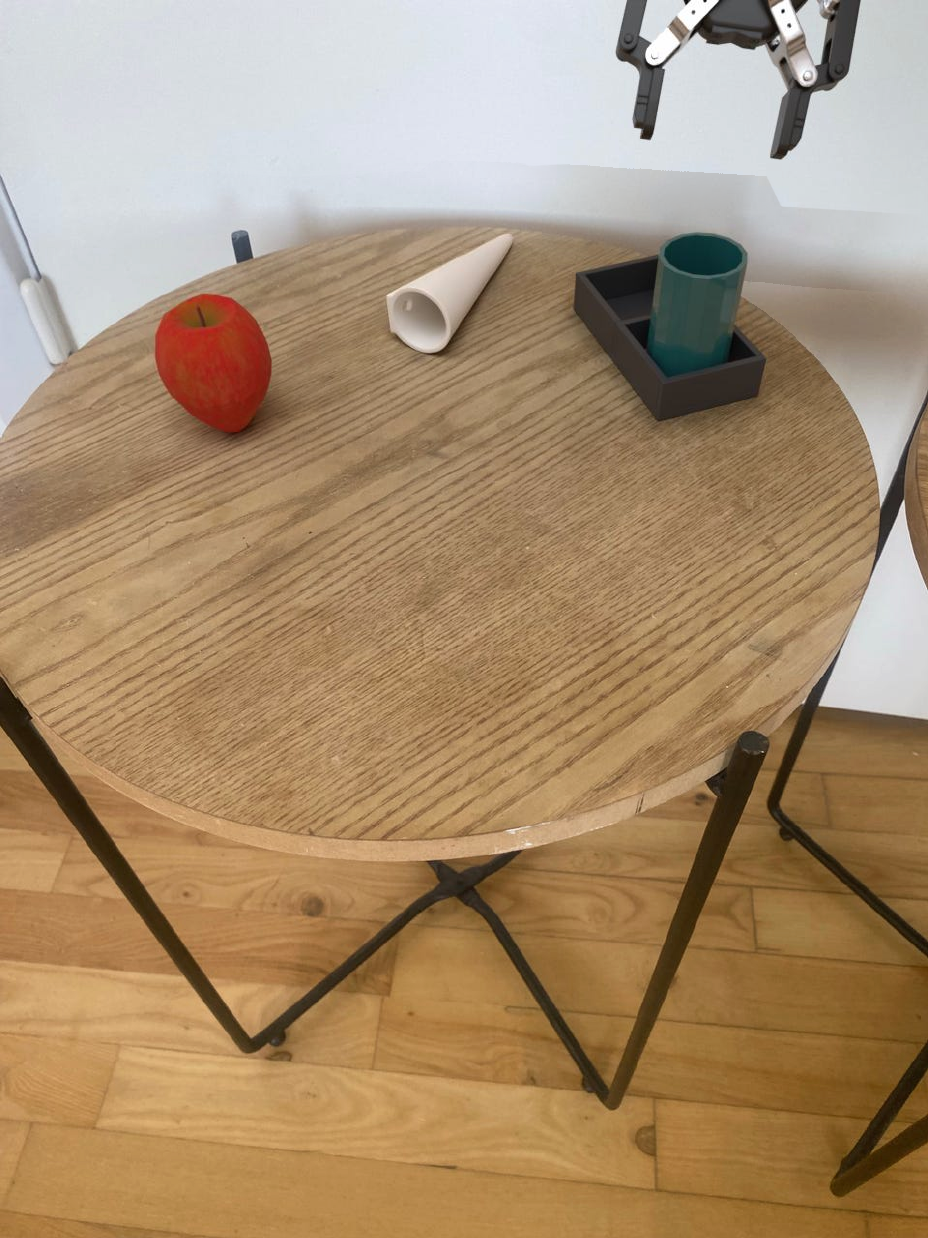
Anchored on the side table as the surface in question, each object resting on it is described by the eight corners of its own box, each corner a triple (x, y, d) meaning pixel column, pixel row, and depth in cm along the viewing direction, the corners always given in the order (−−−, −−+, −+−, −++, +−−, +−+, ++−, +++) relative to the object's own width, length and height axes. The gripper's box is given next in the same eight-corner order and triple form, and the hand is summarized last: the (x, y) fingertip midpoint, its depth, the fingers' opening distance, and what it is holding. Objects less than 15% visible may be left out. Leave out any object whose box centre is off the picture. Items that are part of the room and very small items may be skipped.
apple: (188, 393, 79) (151, 274, 71) (290, 389, 79) (264, 269, 71) (171, 461, 74) (128, 341, 66) (280, 457, 74) (250, 335, 66)
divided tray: (757, 396, 76) (767, 357, 74) (658, 421, 75) (663, 383, 72) (662, 288, 87) (667, 251, 84) (573, 309, 85) (575, 272, 83)
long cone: (561, 274, 92) (452, 359, 81) (504, 264, 95) (391, 345, 83) (561, 213, 88) (447, 293, 77) (502, 205, 91) (383, 281, 80)
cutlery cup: (725, 349, 79) (748, 235, 72) (723, 396, 75) (747, 280, 68) (647, 342, 80) (662, 229, 73) (641, 388, 76) (656, 274, 69)
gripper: (659, -199, 54) (606, 115, 58) (913, -165, 53) (841, 149, 57) (644, -131, 61) (598, 144, 65) (867, -100, 60) (807, 174, 65)
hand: (712, 146), depth 61 cm, fingers open, 8 cm apart
